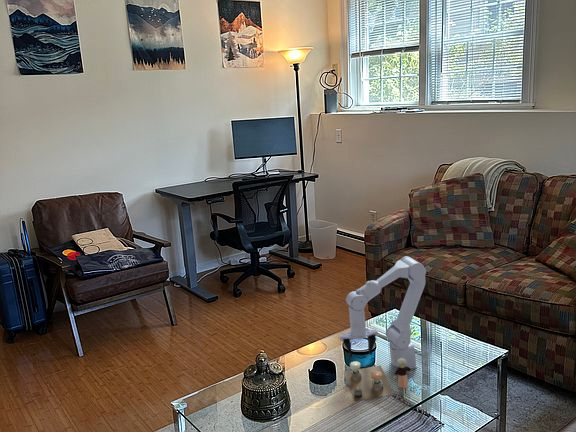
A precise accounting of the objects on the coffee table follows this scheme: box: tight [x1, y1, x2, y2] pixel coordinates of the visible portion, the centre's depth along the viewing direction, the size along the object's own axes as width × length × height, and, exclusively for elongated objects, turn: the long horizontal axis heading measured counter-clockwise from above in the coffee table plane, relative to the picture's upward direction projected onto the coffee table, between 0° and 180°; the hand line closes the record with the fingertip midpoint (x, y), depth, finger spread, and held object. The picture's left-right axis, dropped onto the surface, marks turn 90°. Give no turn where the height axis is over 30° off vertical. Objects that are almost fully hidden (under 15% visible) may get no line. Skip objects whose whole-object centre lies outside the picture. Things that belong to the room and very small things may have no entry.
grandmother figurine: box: [392, 358, 413, 389], centre depth 200 cm, size 8×4×13 cm, turn 117°
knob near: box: [371, 371, 382, 384], centre depth 201 cm, size 4×4×4 cm
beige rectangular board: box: [343, 364, 396, 402], centre depth 206 cm, size 15×20×4 cm
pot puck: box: [354, 388, 362, 398], centre depth 198 cm, size 3×3×3 cm
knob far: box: [349, 361, 361, 373], centre depth 209 cm, size 4×4×4 cm
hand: (360, 354), depth 211 cm, fingers open, 7 cm apart
